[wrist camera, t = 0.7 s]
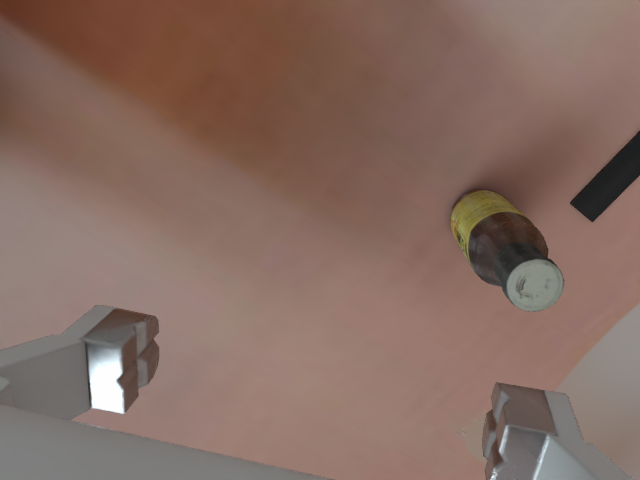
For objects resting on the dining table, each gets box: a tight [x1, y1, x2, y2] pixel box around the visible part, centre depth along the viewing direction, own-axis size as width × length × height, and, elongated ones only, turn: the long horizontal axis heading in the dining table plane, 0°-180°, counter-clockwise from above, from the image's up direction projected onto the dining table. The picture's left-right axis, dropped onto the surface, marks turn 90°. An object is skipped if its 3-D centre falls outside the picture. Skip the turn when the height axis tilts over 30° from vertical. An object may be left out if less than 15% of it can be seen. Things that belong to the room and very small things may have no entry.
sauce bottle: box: [450, 190, 564, 312], centre depth 49 cm, size 7×6×20 cm
